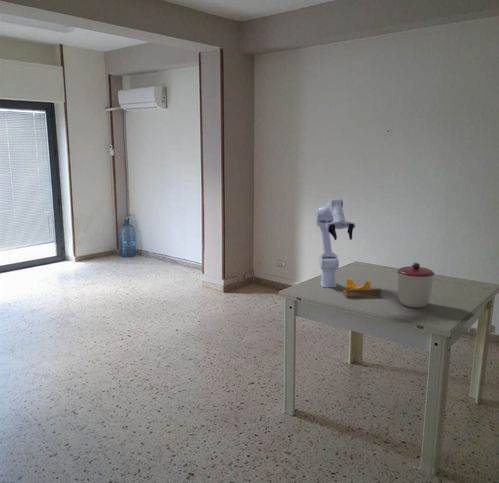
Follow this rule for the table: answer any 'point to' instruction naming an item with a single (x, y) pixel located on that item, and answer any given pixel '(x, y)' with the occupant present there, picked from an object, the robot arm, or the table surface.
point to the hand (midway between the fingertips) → (343, 238)
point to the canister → (414, 285)
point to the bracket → (362, 293)
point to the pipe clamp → (352, 286)
